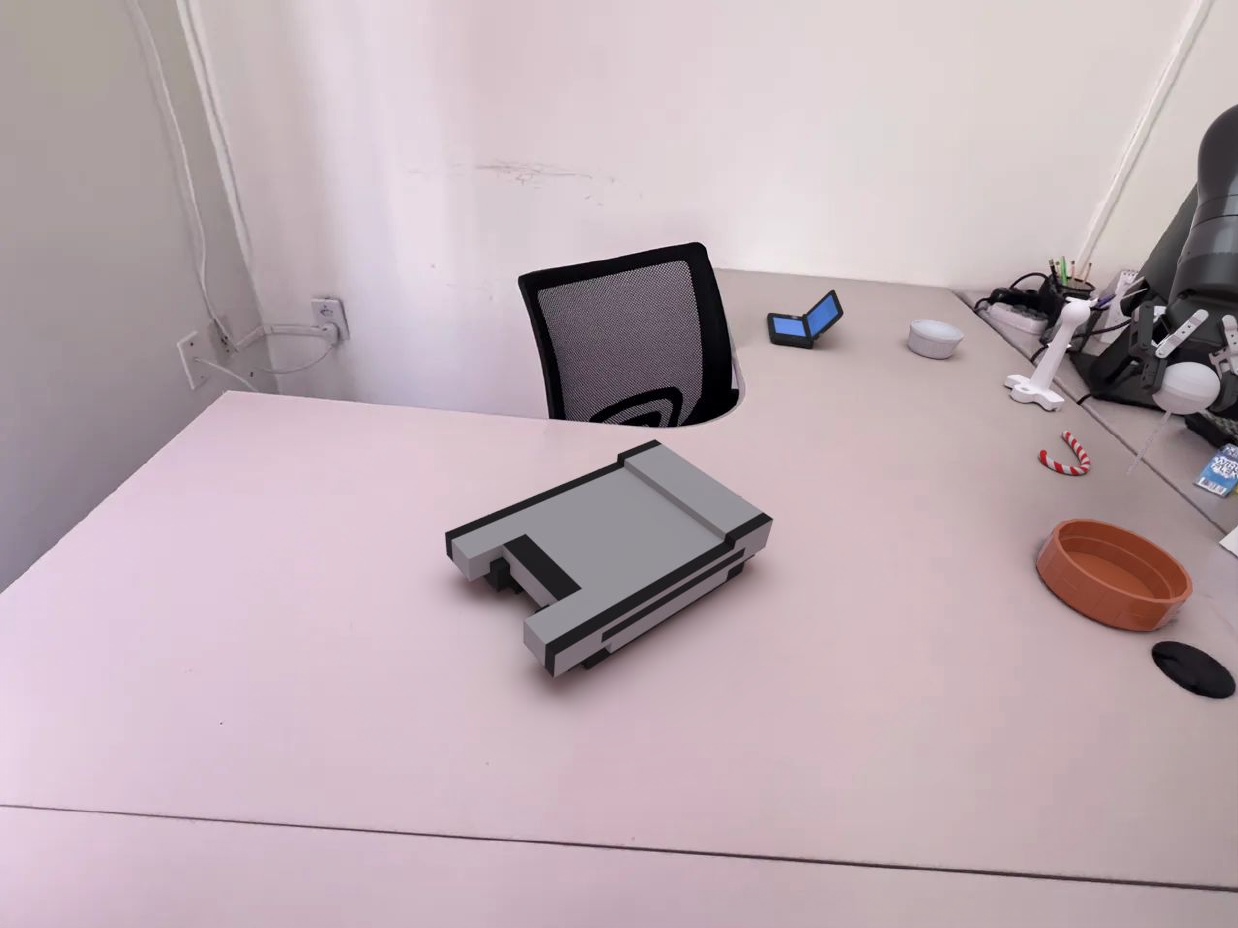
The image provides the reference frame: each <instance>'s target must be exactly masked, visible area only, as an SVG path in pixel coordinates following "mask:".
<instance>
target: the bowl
mask: <svg viewBox="0 0 1238 928" xmlns="http://www.w3.org/2000/svg"><path fill="white" fill-rule="evenodd" d="M1035 565H1036V567H1037V570H1038V572H1039V573H1038V574H1039V575H1040V578H1042V580H1043V581H1044V583H1045V584H1046V586H1047V587H1048V588H1049V589H1050V590H1051V591H1052V593H1054V595H1055V596H1056V597H1058V598H1059V599H1060V600H1061V601H1062V602H1064V603H1065V604H1067V605H1068V606H1069V607H1070V608H1072V609H1074V610H1075V611H1077V612H1078V613H1080V614H1082V615H1084V616H1086V617H1088V618H1090V619H1092V620H1094V621H1097V622H1098V623H1101V624H1104V625H1107V626H1111V627H1114V628H1117V629H1121V630H1122V629H1123V630H1128V631H1136V632H1137V631H1140V632H1151V631H1154V630H1157V629H1161V628H1163V627H1165V626H1166V625H1167V624H1168V623H1169V622H1170V620H1171V619H1172V618H1173V617H1174V615H1175V614H1176V613H1177V612H1178V610H1180V608H1181V607H1182V606H1183V605H1184V604H1185V603H1186V601H1187V600H1188V599H1189V597H1191V594H1192V593H1193V592H1194V586H1193V581H1192V580H1193V579H1192V578H1191V576H1190V574H1189V573H1188V572H1187V569H1186V568H1185V567H1184V566H1183V565H1182V564H1181V563H1180V562H1179V561H1178V560H1177V559H1176V558H1175V557H1174V556H1173V555H1172V554H1170V553H1169V552H1168V551H1167V550H1166V549H1164V548H1162V547H1161V546H1159V545H1157V544H1156V543H1155V542H1153V541H1152V540H1150V539H1148V538H1146V537H1144V536H1142V535H1140V534H1138V533H1136V532H1134V531H1132V530H1131V529H1127V528H1124V527H1121V526H1120V525H1116V524H1113V523H1111V522H1105V521H1101V520H1098V519H1097V520H1096V519H1091V518H1071V519H1066V520H1062V521H1060V522H1059V523H1058V524H1057V525H1056V526H1055V527H1054V528H1053V530H1052V531H1051V533H1050V534H1049V536H1048V537H1047V539H1046V541H1045V543H1044V544H1043V546H1042V548H1041V549H1040V551H1039V552H1038V554H1037V558H1036V564H1035Z"/></svg>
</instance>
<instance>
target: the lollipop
mask: <svg viewBox="0 0 1238 928" xmlns="http://www.w3.org/2000/svg"><path fill="white" fill-rule="evenodd" d="M1219 380H1220V378H1219V375H1217V374H1216V372H1215V371H1214V370H1213V369H1211V367H1209V366H1207V365H1205V364H1202V363H1198V362H1194V361H1193V362H1192V361H1183V362H1179V363H1174V364H1171V365H1168V366H1166V370H1165V373H1164V377H1163V381H1162V385H1161V388H1160V390H1159V391H1158V392H1157V393H1155V394H1153V395H1152V399H1153V401H1154V402H1155V404H1156V405H1157V406H1158V407H1159V408H1160V409H1162V410H1164V411H1165V414H1163V417H1162V418H1161V419H1160V420H1159V422H1158V423H1157V425H1156V426H1155V428H1154V430H1153V431H1152V432H1151V434H1150V435H1149V438H1148V439H1147V440H1146V442H1145V443H1144V445H1143V447H1142V448H1141V449H1140V451H1139V452H1138V454H1137V455H1136V457H1135V458H1134V460H1133V462H1132V463H1131V464H1130V466H1129V468H1128V469H1127V471H1125V475H1127V476H1130V475H1131V474H1132V472H1134V469H1135V468H1136V467H1137V465H1138V464H1139V462H1140V461H1141V459H1142V458H1143V456H1144V455H1145V453H1146V452H1147V450H1148V449H1149V447H1150V446H1151V444H1152V443H1153V442H1154V440H1155V438H1156V437H1157V435H1158V434H1159V432H1160V431H1161V429H1162V428H1163V426H1164V425H1165V423H1166V421H1168V419H1169V417H1170V416H1171V414H1174V415H1190V414H1191V415H1192V414H1196V413H1199V412H1202V411H1204V410H1205V409H1207V408H1208V407H1210V405H1211V404H1212V403H1213V402H1214V401H1215V400H1216V398H1217V396H1218V394H1219V391H1220V381H1219Z"/></svg>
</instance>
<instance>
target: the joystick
mask: <svg viewBox="0 0 1238 928" xmlns="http://www.w3.org/2000/svg"><path fill="white" fill-rule="evenodd" d="M1090 316H1091V308H1090V306H1089V305H1088V304H1087V303H1086V302H1083V301H1079V300H1075V301H1071V302H1069V303H1067V304H1066V305H1064V307H1063V308H1062V310H1061V313H1060V319H1061V324H1060V325H1061V326H1060V327H1059V329H1058V330H1057V332H1056V334H1055V336H1054V337H1053V339H1052V341H1051V343H1050V344H1049V346H1048V348H1047V350H1046V351H1045V353H1044V354H1043V356H1042V358H1041V360H1040V362H1039V364H1038V365H1037V367H1036V369H1035V370H1034V372H1033V373H1032V375H1031V377H1030V378H1029V377H1026V376H1024V375H1021V374H1011V375H1007V376H1006V379H1005V381H1004V383H1003V385H1004V386H1006V387H1008V388H1011V389H1012V390H1011V392H1010V394H1009V395H1010V396H1011V399H1013V400H1014V401H1016V402H1017V403H1023V404H1027V403H1032V402H1033V403H1037V404H1039V405H1040V406H1041V407H1042V408H1044V409H1045V410H1047V411H1052V410H1053V411H1054V412H1059V411H1060V410H1061V408H1062V406H1063V405H1064V402H1065V399H1064V398H1063V397H1061V395H1059V394H1057V393H1056V392H1055V391H1053V390H1052V389H1050V386H1051V384H1052V382H1053V379H1054V377H1055V375H1056V373H1057V370H1058V368H1059V366H1060V364H1061V362H1062V360H1063V357H1064V355H1065V353H1066V351H1067V349H1068V347H1069V345H1070V342H1071V340H1072V337H1073V335H1074V333H1075V331H1076V330H1077V328H1078V327H1079V326H1081V325H1083V324H1085V323H1086V322H1087V321H1088V319H1089V318H1090Z"/></svg>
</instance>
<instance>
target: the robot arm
mask: <svg viewBox="0 0 1238 928" xmlns="http://www.w3.org/2000/svg"><path fill="white" fill-rule="evenodd" d="M1196 167H1197V169H1196V171H1197V173H1196V177H1197V178H1196V179H1197V180H1196V186H1197V187H1196V188H1197V205H1196V208H1195V212H1194V214H1193V219H1192V222H1191V226H1190V230H1189V234H1188V236H1187V239H1186V241H1185V243H1184V245H1183V247H1182V250H1181V253H1180V256H1179V258H1178V260H1177V262H1176V263H1177V268H1176V272H1175V275H1174V279H1173V283H1172V286H1171V290H1170V293H1169V297H1168V303H1167V304H1166V306H1163V305H1155V303H1154V302H1153V301H1152V300H1145V301H1144V302H1142V303H1141V304H1140V305H1139V306H1138V307H1136V308H1135V309H1134V310H1133V311H1132V312H1131V317H1130V329H1129V340H1128V355H1129V356H1130V357H1134V358H1136V357H1137V358H1139V359H1141V360H1142V361H1143V362H1144V367H1143V370H1142V373H1141V378H1140V381H1139V387H1140V389H1142V390H1143V392H1142V394H1143V395H1145V396H1150V397H1151V396H1152V395H1153V394H1155V393H1157V392H1158V391H1159V390H1160V388H1161V385H1162V381H1163V377H1164V373H1165V370H1166V368H1167V367H1168V362H1169V360H1167V359H1166V358H1168V356H1169V355H1170V354H1171V353H1172V352H1173V351H1174V350H1175V349H1176V348H1178V349H1179V348H1180V349H1184V350H1195V351H1198V352H1199V353H1203V354H1208V357H1209V360H1210V363H1211V364H1212V365H1213V366H1215V368H1216V371H1217V374H1218V375H1217V376H1218V378H1219V381H1220V391H1219V394H1218V396H1217V398H1216V400H1215V401H1214V402H1213V403H1212V404H1211V405H1210V406H1209V411H1211V412H1216V413H1219V412H1221V411H1223V410H1226V409H1228V408H1229V407H1231V406H1233V405H1235V404H1236V402H1237V401H1238V103H1237V104H1235V105H1233V106H1231V107H1229V108H1227V109H1226V110H1225V111H1223V112H1221V113H1220V114H1219V115H1218V116H1216V118H1215V119H1214V120H1213V121H1212V122H1211V124H1210V125H1209V126H1208V128H1207V129H1206V130H1205V132H1204V134H1203V136H1202V138H1201V141H1200V144H1199V147H1198V152H1197V164H1196ZM1159 319H1160V321H1161V322H1162V324H1163V326H1164V328H1165V329H1166V331H1167V333H1168V334H1167V335H1166V337H1165V338H1163V339H1162V340H1161V341H1160V342H1159V343H1158V344H1157V345H1154V344H1152V342H1153V332H1154V331H1153V330H1154V324H1155V323H1156V322H1157V321H1158V320H1159ZM1224 349H1225V350H1224ZM1152 397H1153V396H1152Z"/></svg>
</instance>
